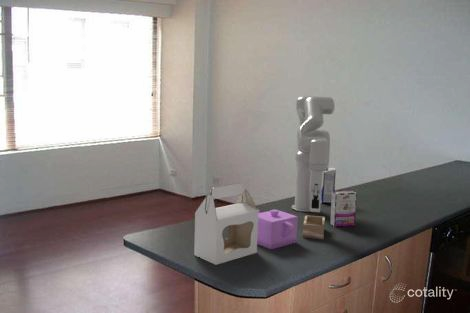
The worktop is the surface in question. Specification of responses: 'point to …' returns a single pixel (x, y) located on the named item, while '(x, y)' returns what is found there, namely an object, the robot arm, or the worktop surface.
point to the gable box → (216, 219)
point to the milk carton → (328, 185)
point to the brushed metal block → (311, 203)
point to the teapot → (276, 229)
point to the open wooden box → (313, 227)
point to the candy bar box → (343, 208)
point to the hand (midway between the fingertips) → (315, 206)
